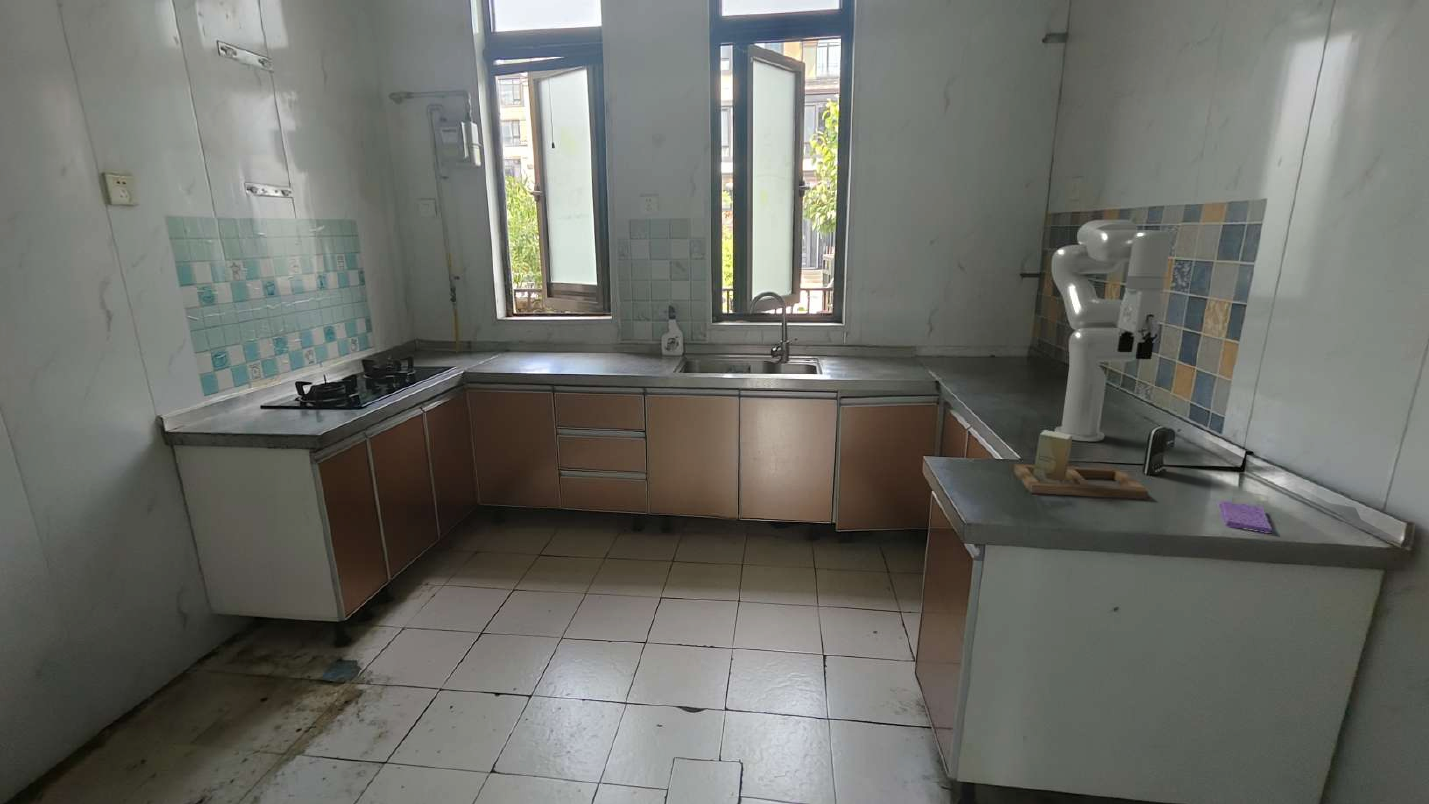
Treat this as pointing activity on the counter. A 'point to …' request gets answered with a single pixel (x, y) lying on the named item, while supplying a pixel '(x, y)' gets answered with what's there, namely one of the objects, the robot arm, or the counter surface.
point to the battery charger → (1157, 449)
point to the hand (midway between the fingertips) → (1133, 355)
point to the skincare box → (1052, 457)
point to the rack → (1083, 483)
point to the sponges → (1244, 516)
